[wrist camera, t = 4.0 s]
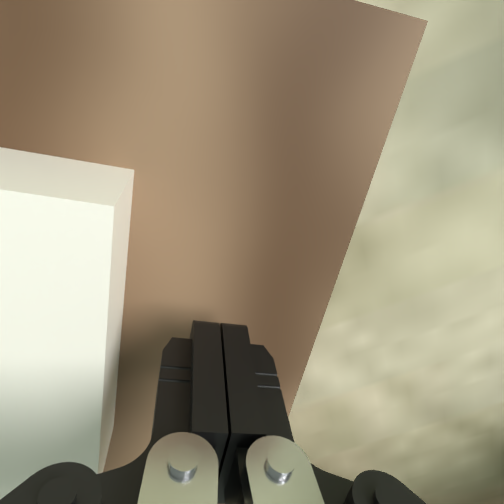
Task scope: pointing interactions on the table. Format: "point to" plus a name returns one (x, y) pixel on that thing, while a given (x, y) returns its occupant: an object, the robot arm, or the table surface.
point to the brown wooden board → (213, 156)
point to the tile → (59, 309)
